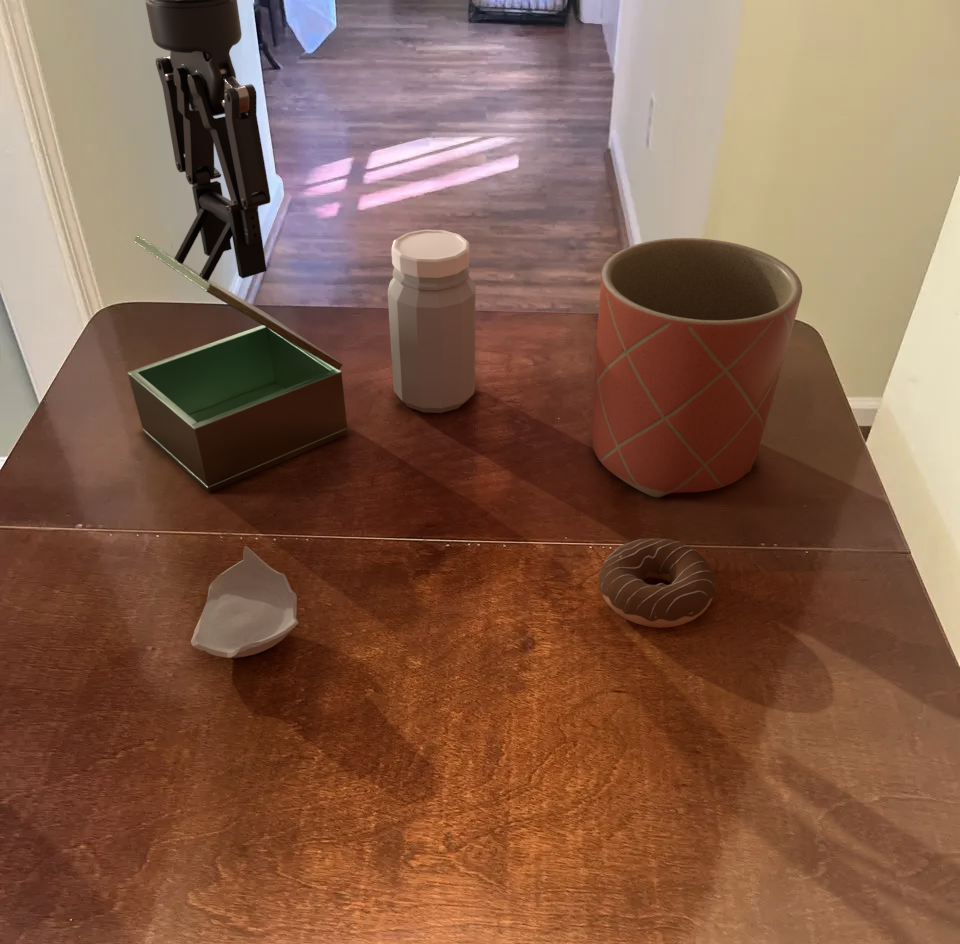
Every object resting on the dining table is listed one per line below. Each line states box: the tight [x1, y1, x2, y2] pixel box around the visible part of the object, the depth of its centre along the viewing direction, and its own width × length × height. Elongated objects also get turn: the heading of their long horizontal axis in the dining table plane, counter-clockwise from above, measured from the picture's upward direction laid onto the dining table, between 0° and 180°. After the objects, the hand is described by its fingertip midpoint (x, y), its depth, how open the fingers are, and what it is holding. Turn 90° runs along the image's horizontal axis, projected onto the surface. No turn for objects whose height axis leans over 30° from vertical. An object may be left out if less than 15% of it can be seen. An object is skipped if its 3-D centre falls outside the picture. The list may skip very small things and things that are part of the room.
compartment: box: [127, 324, 348, 494], centre depth 108 cm, size 18×15×8 cm
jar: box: [387, 229, 476, 414], centre depth 110 cm, size 10×10×18 cm
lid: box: [133, 189, 343, 371], centre depth 101 cm, size 18×15×8 cm
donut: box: [597, 537, 716, 629], centre depth 90 cm, size 11×11×4 cm
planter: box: [591, 237, 803, 498], centre depth 101 cm, size 19×19×20 cm
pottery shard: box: [190, 544, 299, 659], centre depth 86 cm, size 10×11×5 cm
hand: (235, 261), depth 98 cm, fingers closed on lid, 6 cm apart
